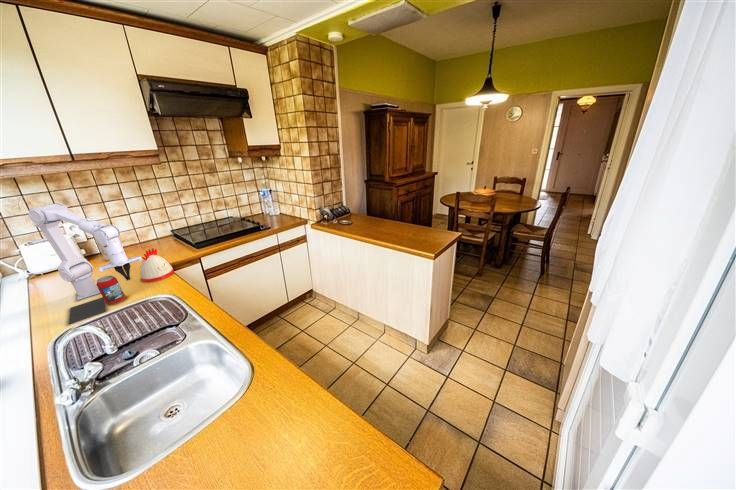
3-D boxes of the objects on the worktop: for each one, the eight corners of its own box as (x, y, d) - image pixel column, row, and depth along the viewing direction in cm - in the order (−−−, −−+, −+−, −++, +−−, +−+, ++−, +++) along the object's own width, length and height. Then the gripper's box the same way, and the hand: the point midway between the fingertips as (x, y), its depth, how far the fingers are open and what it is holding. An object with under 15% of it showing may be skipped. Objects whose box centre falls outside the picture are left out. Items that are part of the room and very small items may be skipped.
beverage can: (114, 306, 117) (102, 282, 113) (102, 305, 119) (90, 282, 114) (129, 297, 124) (118, 275, 119) (118, 296, 125) (107, 274, 120)
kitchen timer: (179, 269, 148) (170, 245, 142) (157, 282, 136) (146, 256, 130) (158, 268, 151) (148, 244, 145) (135, 281, 138) (123, 255, 132)
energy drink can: (119, 257, 170) (109, 235, 164) (109, 261, 164) (98, 238, 159) (112, 256, 171) (102, 235, 165) (102, 260, 166) (91, 238, 160)
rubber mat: (71, 308, 118) (70, 307, 118) (104, 297, 125) (103, 296, 125) (69, 324, 107) (68, 323, 107) (105, 311, 114) (105, 310, 114)
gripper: (93, 261, 110) (108, 288, 115) (137, 249, 119) (149, 276, 124) (93, 256, 114) (107, 283, 120) (135, 245, 124) (146, 271, 129)
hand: (128, 279), depth 122 cm, fingers closed
